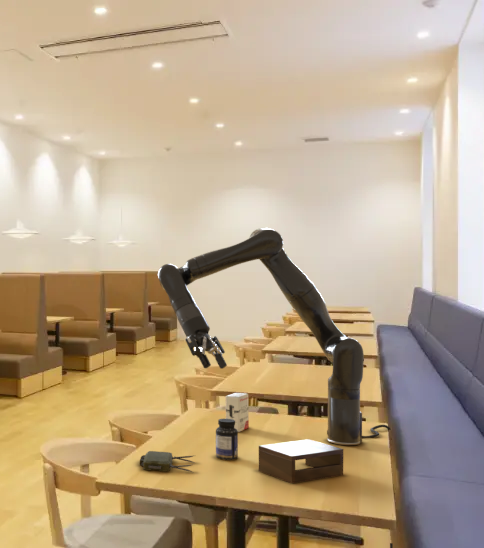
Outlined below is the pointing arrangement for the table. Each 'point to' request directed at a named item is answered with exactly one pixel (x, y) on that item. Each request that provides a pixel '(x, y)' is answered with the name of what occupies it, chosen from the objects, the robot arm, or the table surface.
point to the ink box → (238, 410)
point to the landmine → (161, 461)
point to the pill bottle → (226, 440)
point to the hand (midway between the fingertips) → (216, 367)
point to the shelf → (283, 455)
